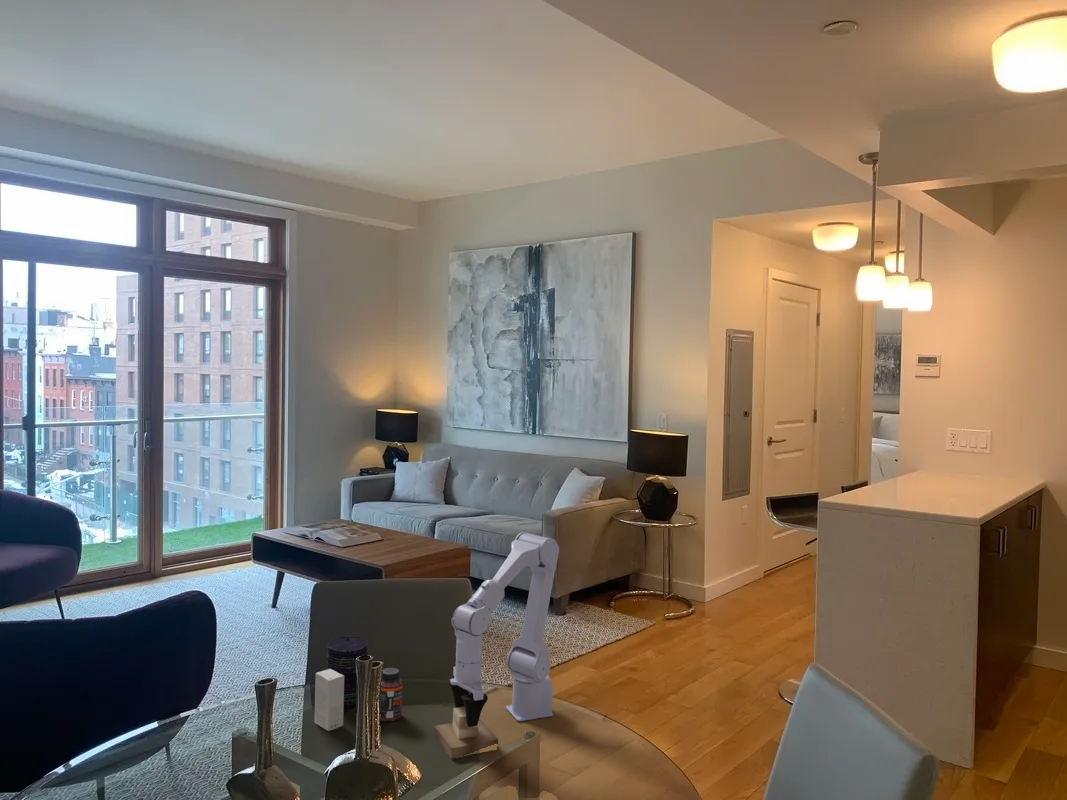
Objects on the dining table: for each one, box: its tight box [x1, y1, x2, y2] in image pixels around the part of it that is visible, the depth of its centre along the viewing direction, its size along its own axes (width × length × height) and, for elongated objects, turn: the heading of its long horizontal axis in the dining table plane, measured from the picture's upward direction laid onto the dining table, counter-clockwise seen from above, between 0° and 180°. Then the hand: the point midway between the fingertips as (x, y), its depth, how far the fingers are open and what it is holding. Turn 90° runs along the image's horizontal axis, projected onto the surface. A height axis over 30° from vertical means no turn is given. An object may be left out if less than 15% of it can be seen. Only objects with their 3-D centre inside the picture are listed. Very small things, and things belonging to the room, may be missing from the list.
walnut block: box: [433, 717, 499, 760], centre depth 178 cm, size 11×11×3 cm
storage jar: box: [326, 636, 369, 713], centre depth 196 cm, size 10×10×15 cm
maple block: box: [452, 707, 478, 739], centre depth 178 cm, size 4×4×5 cm
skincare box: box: [313, 668, 344, 732], centre depth 184 cm, size 6×4×12 cm
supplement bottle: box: [380, 667, 403, 722], centre depth 189 cm, size 6×6×11 cm
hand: (466, 718), depth 178 cm, fingers open, 7 cm apart
